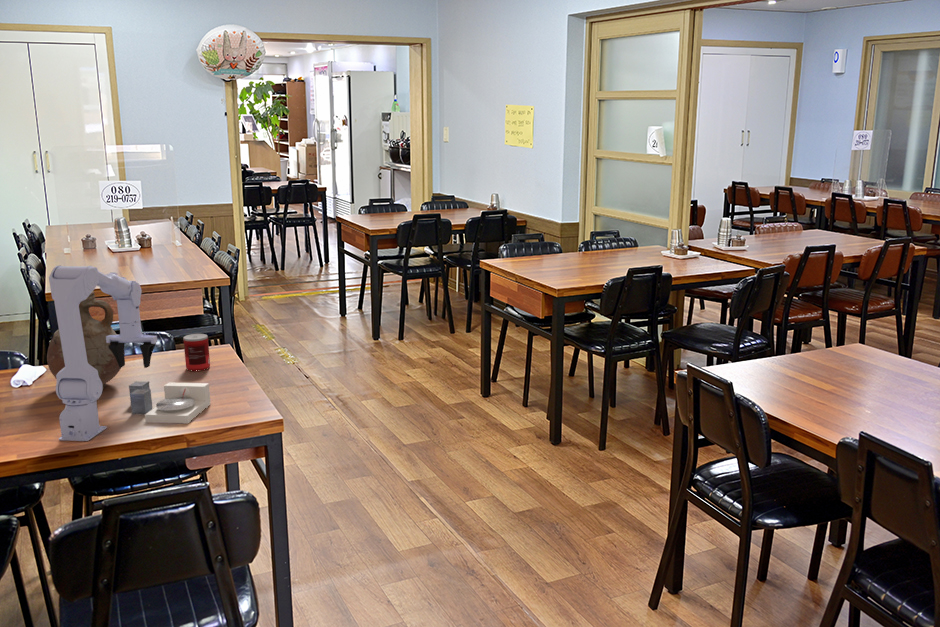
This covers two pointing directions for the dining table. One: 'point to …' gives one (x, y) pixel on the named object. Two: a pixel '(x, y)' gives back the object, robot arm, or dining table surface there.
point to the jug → (89, 342)
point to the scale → (185, 415)
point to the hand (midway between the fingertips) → (134, 366)
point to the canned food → (196, 352)
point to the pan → (175, 403)
